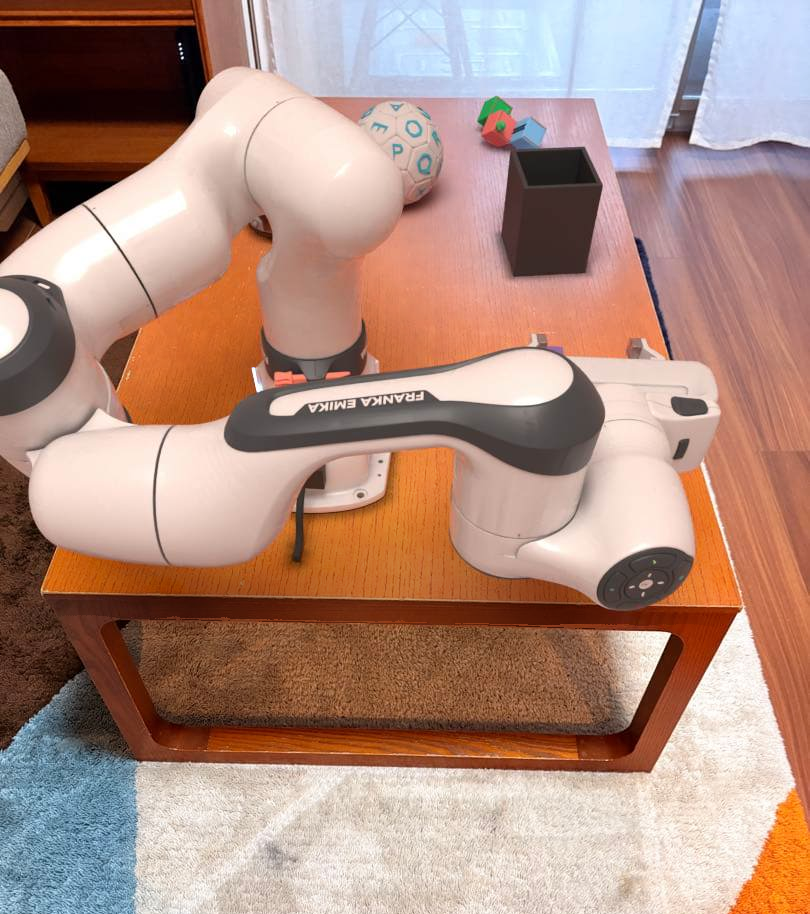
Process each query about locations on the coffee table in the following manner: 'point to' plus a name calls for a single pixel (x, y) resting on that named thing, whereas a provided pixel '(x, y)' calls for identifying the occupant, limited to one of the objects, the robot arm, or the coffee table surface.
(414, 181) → the puzzle ball
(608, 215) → the coffee table surface
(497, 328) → the coffee table surface
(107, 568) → the coffee table surface
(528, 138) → the building blocks
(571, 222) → the trash can
